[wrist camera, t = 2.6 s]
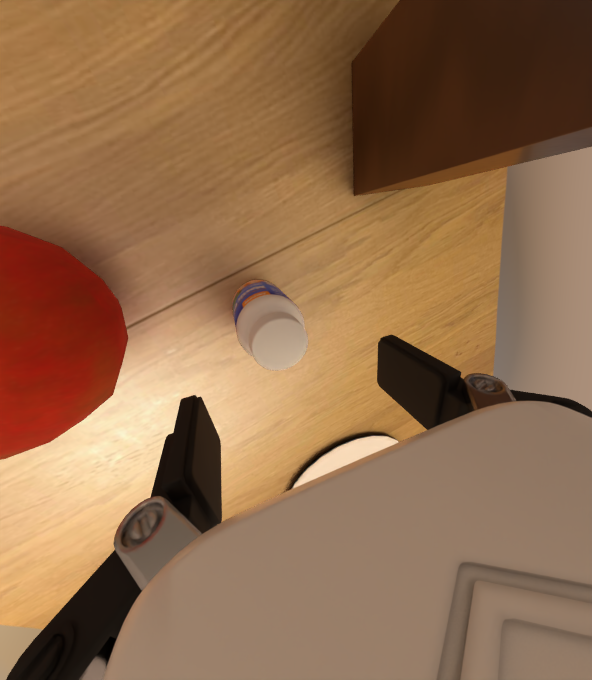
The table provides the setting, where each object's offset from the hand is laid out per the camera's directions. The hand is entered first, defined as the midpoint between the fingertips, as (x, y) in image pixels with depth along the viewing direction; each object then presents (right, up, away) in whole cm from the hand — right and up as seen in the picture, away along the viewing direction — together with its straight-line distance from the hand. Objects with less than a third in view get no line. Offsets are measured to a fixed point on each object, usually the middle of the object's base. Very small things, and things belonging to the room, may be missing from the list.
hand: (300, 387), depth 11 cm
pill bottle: (-4, +6, +12) cm, 14 cm away
